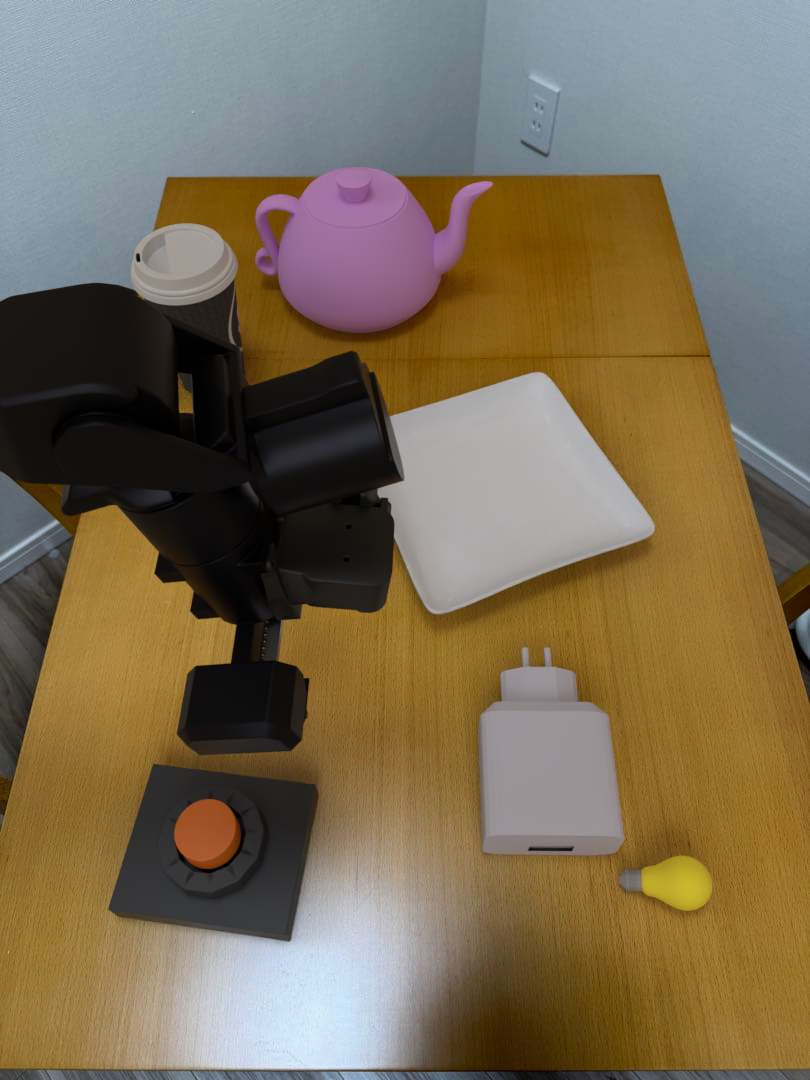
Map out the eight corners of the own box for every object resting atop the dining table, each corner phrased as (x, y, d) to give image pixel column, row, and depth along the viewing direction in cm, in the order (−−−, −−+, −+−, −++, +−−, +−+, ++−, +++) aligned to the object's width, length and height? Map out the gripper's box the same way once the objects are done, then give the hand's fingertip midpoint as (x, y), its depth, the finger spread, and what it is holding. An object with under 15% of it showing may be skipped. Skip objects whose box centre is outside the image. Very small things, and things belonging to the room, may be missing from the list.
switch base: (117, 916, 58) (98, 903, 55) (160, 773, 64) (146, 753, 60) (290, 941, 57) (282, 929, 54) (319, 794, 63) (313, 775, 59)
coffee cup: (181, 339, 91) (143, 214, 78) (269, 346, 90) (245, 221, 77) (154, 404, 85) (108, 281, 73) (247, 413, 84) (217, 290, 72)
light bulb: (714, 908, 58) (715, 914, 54) (623, 904, 59) (618, 909, 56) (710, 855, 59) (710, 857, 55) (620, 852, 60) (615, 854, 57)
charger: (590, 662, 68) (613, 856, 60) (474, 661, 68) (481, 855, 60) (600, 633, 64) (627, 837, 56) (477, 633, 65) (485, 835, 56)
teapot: (246, 340, 90) (221, 227, 79) (271, 237, 100) (252, 124, 89) (484, 347, 89) (493, 234, 78) (485, 242, 99) (493, 128, 88)
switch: (174, 864, 56) (166, 856, 55) (190, 804, 59) (183, 794, 57) (233, 873, 56) (227, 864, 54) (247, 812, 58) (242, 802, 56)
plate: (655, 551, 74) (664, 528, 71) (430, 636, 70) (431, 616, 67) (540, 390, 85) (544, 365, 83) (340, 455, 81) (338, 430, 78)
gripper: (349, 681, 36) (426, 788, 49) (372, 356, 46) (431, 516, 59) (109, 697, 38) (243, 795, 51) (181, 384, 48) (278, 532, 61)
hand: (307, 648), depth 55 cm, fingers open, 9 cm apart
